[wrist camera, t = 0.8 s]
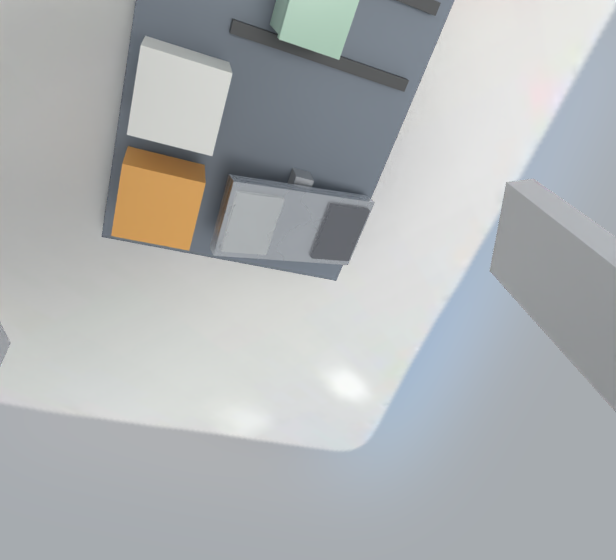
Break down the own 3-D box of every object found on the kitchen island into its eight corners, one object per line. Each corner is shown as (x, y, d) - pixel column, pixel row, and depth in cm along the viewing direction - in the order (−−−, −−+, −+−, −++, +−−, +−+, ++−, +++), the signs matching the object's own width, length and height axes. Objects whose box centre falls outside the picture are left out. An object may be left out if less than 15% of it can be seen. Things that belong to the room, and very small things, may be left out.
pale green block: (267, 25, 28) (278, 39, 25) (284, -39, 27) (299, -35, 23) (320, 44, 29) (339, 60, 26) (339, -17, 28) (362, -10, 24)
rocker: (209, 247, 32) (214, 258, 31) (228, 174, 30) (235, 183, 29) (341, 257, 37) (349, 267, 36) (367, 195, 35) (376, 204, 34)
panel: (105, 222, 35) (97, 250, 32) (156, -123, 26) (151, -131, 23) (330, 267, 41) (341, 294, 38) (441, -4, 31) (468, 2, 28)
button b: (131, 118, 28) (126, 134, 26) (145, 35, 26) (140, 44, 24) (210, 139, 30) (212, 156, 27) (229, 62, 28) (232, 73, 25)
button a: (117, 214, 31) (111, 235, 29) (127, 145, 29) (122, 163, 27) (189, 228, 33) (189, 250, 30) (204, 165, 30) (205, 183, 28)
